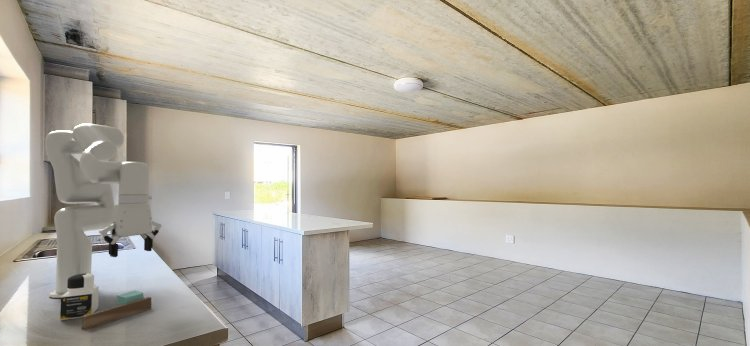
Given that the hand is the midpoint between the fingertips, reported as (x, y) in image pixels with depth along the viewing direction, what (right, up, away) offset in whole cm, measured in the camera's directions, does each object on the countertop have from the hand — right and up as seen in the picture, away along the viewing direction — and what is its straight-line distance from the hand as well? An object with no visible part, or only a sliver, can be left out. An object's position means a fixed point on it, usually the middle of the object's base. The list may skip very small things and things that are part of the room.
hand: (131, 253), depth 103 cm
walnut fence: (+2, -18, -7) cm, 19 cm away
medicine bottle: (-12, -18, -4) cm, 22 cm away
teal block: (0, -18, -1) cm, 18 cm away
